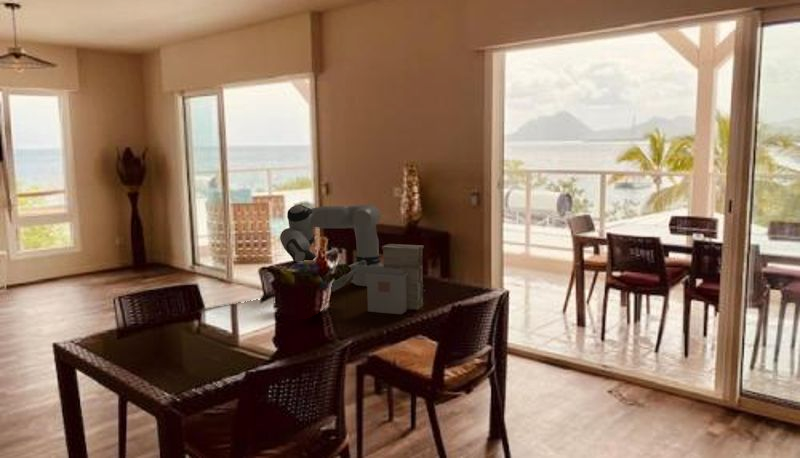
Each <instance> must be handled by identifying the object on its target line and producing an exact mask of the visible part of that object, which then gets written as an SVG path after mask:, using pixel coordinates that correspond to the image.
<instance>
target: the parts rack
mask: <svg viewBox="0 0 800 458" xmlns="http://www.w3.org/2000/svg"><path fill="white" fill-rule="evenodd" d="M407 275H408V273H406V274H404V275H394V274H377V273H366V274H365V276H367V286H366V289H367V290H366V291H367V293H366V294H367V312H371V313H382V314H393V315H394V314H395V315H403V314H404V313H406V312H407V310H408V309H407V297H406V276H407Z"/></svg>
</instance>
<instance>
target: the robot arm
mask: <svg viewBox="0 0 800 458" xmlns="http://www.w3.org/2000/svg"><path fill="white" fill-rule="evenodd" d="M286 214H287V215H286V217H287V220H288V227H287V228H285V229H283V231H281V233H280V236H279V240H280V243H281V245H282V247H283V249H284V250H285V251H286V252H287V254H288V255H289V256H290V258H291V259H292V261H293V263H294V262H295V261H304V260H313V259H314V258H315V257H316V256H317V255H316V254H314V253H313V252H312V251H311V245H312V244H314V243H315V234H314V229H315V228H320V229H348V228H349V229H350V228H353V230H354V234H355V241H356V242H355V243H356V256H355V262H354V263H352V264H349V265H348V266H349V267H350V268H351V271H350V272H349V273H348V274H346V275H343V276H342V277H340V278H339V279H337V280H335V281H334V282H333V283H332V287H331V292H330V293H333V292H336V291H337V290H339V289H341V288H342V287H344V286H345V284H346V283H347V282H348V281H350V278H353V279H351V281H350V283H352V284H354V285H356V286H360V287H361V286H362V287H367V276H365V274H366V273H361V272H354V269H356V268H357V266H356V265H368V266H384V265H383V263H382V262H381V259H382V257H383V254H380V253H379V252H380V251H379V250H380V249H379V248H380V245H379V244H380V243H379V237H378V233H377V224H379V222H380V220H381V211H380V210H379V208H378V207H377V206H375V205H372V204H356V205H341V206H339V205H331V206H330V205H329V206H318V207H317V206H316V207H312V208H310V207H307V206H305V205H301V204H298V205H293V206H291V207H290V208H289V209H288V210H287V213H286Z"/></svg>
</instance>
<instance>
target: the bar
mask: <svg viewBox="0 0 800 458" xmlns="http://www.w3.org/2000/svg"><path fill="white" fill-rule="evenodd" d="M356 266H357V268H356V269H354V272H361V273H377V274H394V275H404V274H406V268H403V267H399V266H389V267H386V266H384V265H383V266H368V265H356Z"/></svg>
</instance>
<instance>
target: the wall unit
mask: <svg viewBox="0 0 800 458" xmlns="http://www.w3.org/2000/svg"><path fill="white" fill-rule="evenodd" d="M424 247H425V246H424V245H421V244H420V245H418V244H396V243H388V244H387V243H386V244H385V245H383V246H381V250H382V251H383V253H382V257H383V260H382V261H383V262H382V265H383V266H386V267H389V266H399V267H403V268H406V273H408V275H407V276H406V297H407V310H414V309H415V311H417V310H420V309H421V308H422V307H423V306H424V297H423V294H424V293H423V289H424V288H423V286H424V281H423V279H424V278H423V276H424V275H423V273H424V272H423V249H424Z"/></svg>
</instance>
